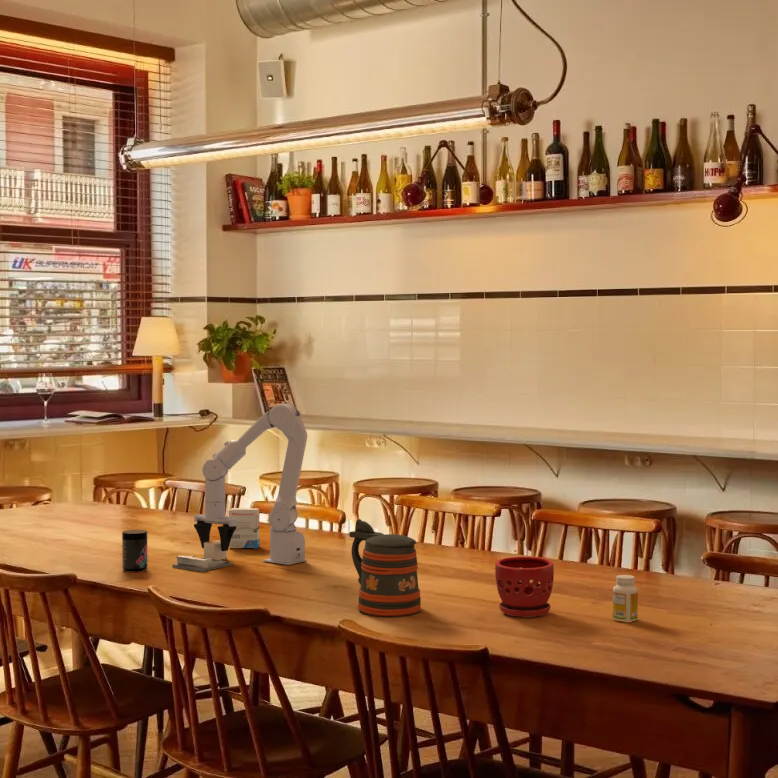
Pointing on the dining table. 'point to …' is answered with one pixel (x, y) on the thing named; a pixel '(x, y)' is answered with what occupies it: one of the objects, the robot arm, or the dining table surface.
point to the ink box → (245, 528)
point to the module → (214, 550)
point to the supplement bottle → (625, 598)
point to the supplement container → (134, 550)
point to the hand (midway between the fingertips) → (215, 549)
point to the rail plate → (199, 563)
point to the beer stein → (386, 572)
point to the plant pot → (524, 585)
